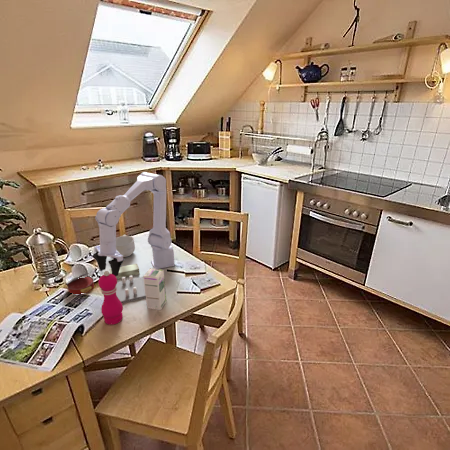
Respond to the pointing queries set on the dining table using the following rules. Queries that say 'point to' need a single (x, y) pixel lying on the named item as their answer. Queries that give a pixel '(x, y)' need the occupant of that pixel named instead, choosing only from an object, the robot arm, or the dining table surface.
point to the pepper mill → (110, 299)
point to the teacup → (125, 245)
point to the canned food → (80, 284)
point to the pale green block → (127, 271)
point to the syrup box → (155, 288)
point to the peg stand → (130, 289)
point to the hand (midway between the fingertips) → (108, 272)
